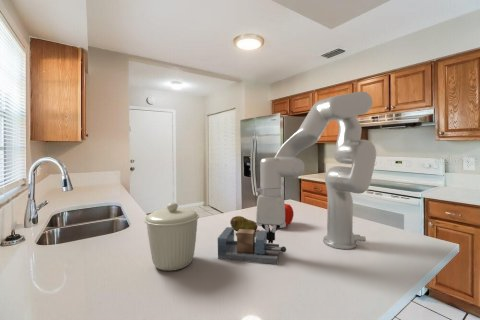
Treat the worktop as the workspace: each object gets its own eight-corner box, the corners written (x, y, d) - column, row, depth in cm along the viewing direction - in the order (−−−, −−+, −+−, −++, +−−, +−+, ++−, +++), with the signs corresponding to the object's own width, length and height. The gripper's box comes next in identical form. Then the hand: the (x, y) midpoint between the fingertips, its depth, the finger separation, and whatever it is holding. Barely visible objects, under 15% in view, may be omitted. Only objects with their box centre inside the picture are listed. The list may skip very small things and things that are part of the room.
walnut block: (254, 248, 88) (254, 229, 88) (253, 252, 84) (253, 233, 84) (239, 246, 89) (239, 228, 89) (237, 251, 85) (236, 232, 85)
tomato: (263, 229, 114) (263, 205, 113) (270, 220, 127) (270, 199, 126) (290, 232, 108) (290, 207, 108) (295, 223, 121) (295, 201, 121)
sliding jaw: (286, 247, 88) (286, 232, 88) (286, 258, 79) (286, 241, 79) (259, 245, 90) (258, 230, 90) (255, 255, 81) (255, 239, 81)
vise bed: (279, 249, 90) (279, 230, 90) (277, 264, 78) (277, 242, 78) (227, 245, 94) (226, 227, 94) (217, 258, 83) (217, 238, 82)
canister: (139, 261, 82) (137, 202, 81) (187, 247, 93) (185, 195, 92) (155, 284, 67) (153, 213, 66) (209, 265, 78) (208, 203, 77)
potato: (259, 235, 105) (259, 218, 104) (230, 236, 104) (230, 219, 104) (256, 229, 113) (256, 213, 113) (230, 230, 112) (230, 213, 112)
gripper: (248, 193, 81) (248, 244, 82) (292, 194, 78) (291, 248, 79) (251, 189, 89) (252, 236, 90) (291, 190, 86) (291, 239, 86)
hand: (270, 241), depth 84 cm, fingers closed
